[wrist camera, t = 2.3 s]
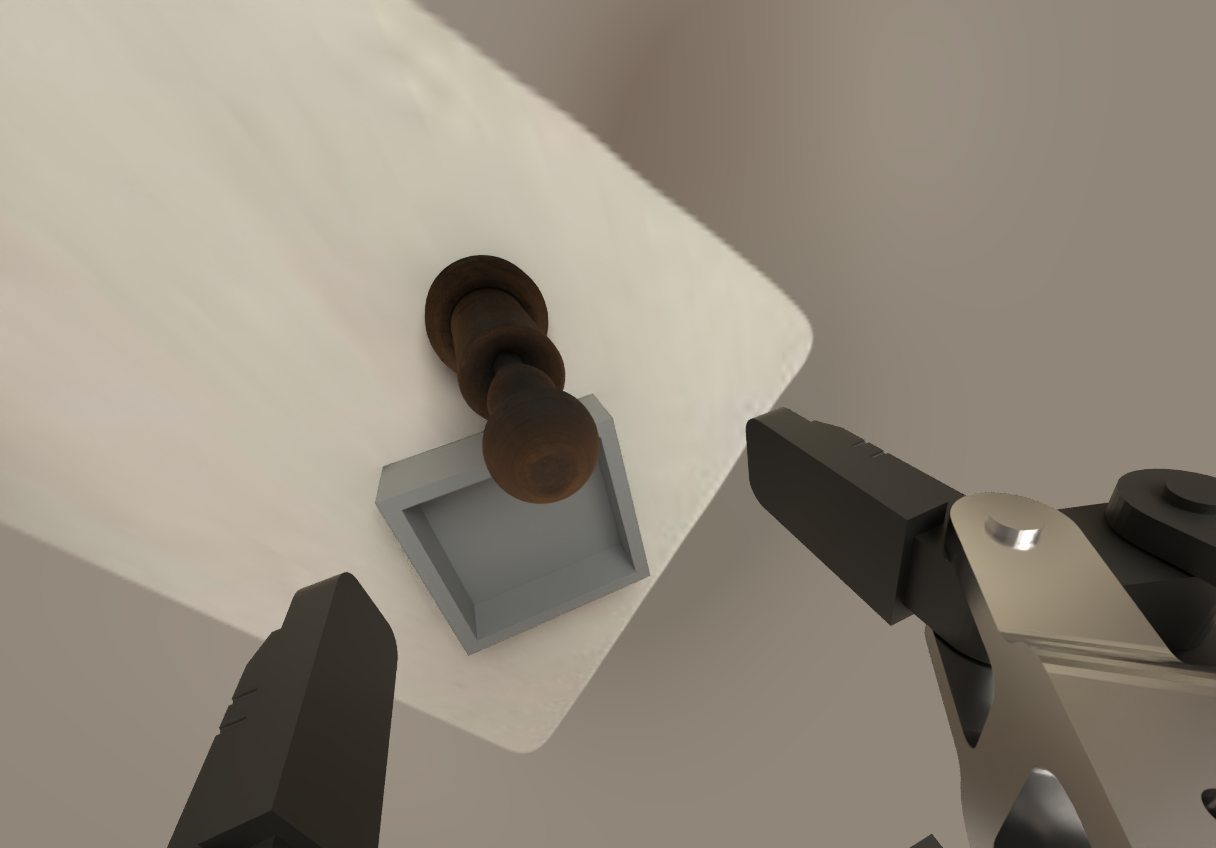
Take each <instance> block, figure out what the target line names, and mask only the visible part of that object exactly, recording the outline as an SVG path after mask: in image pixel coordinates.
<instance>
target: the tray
mask: <svg viewBox="0 0 1216 848" xmlns="http://www.w3.org/2000/svg"><path fill="white" fill-rule="evenodd" d="M578 400H579V401H580V402H581V403H582V404H583V405H584V406H585V407H586V408H587V410H588V411H589V412H590V414H591V415H592V417H593V419H594V421H595V424H596V427H597V430H598V435H599V443H600V444H599V445H600V447H599V456H598V461H597V464H596V467H595V469H594V471H593V473H592V475H591V477H590V478H589V480H588V481H587V482H586V483H585V484H584V486H583V487H582V488H581V489H579V490H578V491H577V492H576V493H574V494H573V495H571V496H570V497H568V498H566V499H563V500H561V501H557V502H554V503H548V504H534V503H528V502H524V501H521V500H519V499H516V498H514V497H512V496H511V495H509V494H508V493H506V492H505V491H504V490H503V489H501V488H500V487H499V486H498V484H497V483H496V482H495V481H494V479H493V478H492V477H491V475H490V473H489V471H488V469H487V467H486V464H485V461H484V457H483V451H482V440H483V434H484V432H482V433H479V434H476V435H473V436H470V437H467V438H464V439H461V440H459V441H456V442H453V443H450V444H447V445H444V446H441V447H438V448H436V449H433V450H430V451H427V452H424V453H421V454H418V455H415V456H413V457H410V458H407V459H404V460H401V461H398V462H395V463H392V464H389V465H387V466H384V467H383V469H382V474H381V478H380V483H379V487H378V492H377V496H376V501H375V504H376V506H377V507H378V509H379V511H380V512H381V514H382V515H383V517H384V519H385V520H386V522H387V524H388V525H389V527H390V529H391V530H392V532H393V533H394V535H395V537H396V538H397V540H398V542H399V543H400V545H401V546H402V548H403V550H404V551H405V553H406V555H407V556H408V558H409V559H410V561H411V563H412V564H413V566H414V568H415V569H416V571H417V573H418V574H419V576H420V577H421V579H422V581H423V582H424V584H425V586H426V587H427V589H428V590H429V592H430V594H431V595H432V597H433V599H434V600H435V602H436V604H437V605H438V607H439V608H440V610H441V612H442V613H443V615H444V617H445V618H446V620H447V621H448V623H449V625H450V626H451V628H452V630H453V631H454V633H455V634H456V636H457V638H458V639H459V641H460V643H461V644H462V646H463V648H464V649H465V651H466V652H467V654H468V656H469V655H471V654H473V653H475V652H478V651H480V650H482V649H485V648H487V647H489V646H491V645H494V644H496V643H498V642H500V641H503V640H505V639H507V638H510V637H512V636H514V635H516V634H519V633H521V632H523V631H525V630H528V629H530V628H532V627H535V626H537V625H539V624H541V623H544V622H546V621H548V620H550V619H553V618H555V617H557V616H560V615H562V614H564V613H566V612H569V611H571V610H573V609H575V608H578V607H580V606H582V605H585V604H587V603H589V602H591V601H594V600H596V599H598V598H600V597H603V596H605V595H607V594H610V593H612V592H614V591H616V590H619V589H621V588H623V587H625V586H628V585H630V584H632V583H635V582H637V581H639V580H641V579H644V578H646V577H648V576H650V572H649V568H648V564H647V560H646V555H645V551H644V547H643V543H642V539H641V534H640V530H639V526H638V522H637V518H636V514H635V509H634V505H633V501H632V497H631V493H630V488H629V484H628V480H627V476H626V472H625V467H624V463H623V459H622V455H621V451H620V446H619V442H618V438H617V434H616V430H615V425H614V421H613V417H612V416H611V415H610V414H609V413H608V411H607V410H606V409H605V408H604V406H603V405H602V404H601V403H600V402H599V400H598V399H597V398H596V397H595V396H594V394H591V395H588V396H585V397H582V398H580V399H578Z"/></svg>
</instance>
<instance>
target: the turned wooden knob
mask: <svg viewBox="0 0 1216 848" xmlns="http://www.w3.org/2000/svg"><path fill="white" fill-rule="evenodd" d="M425 324H426V331H427V335H428V338H429V341H430V343H431V345H432V347H433V349H434V351H435V352H436V354H437V355H438V356H439V358H440V359H441V360H442V361H443V362H444V363H445V364H446V365H447V366H448V367H449V368H451V369H452V370H454V371H455V372H457V373H458V382H459V387H460V390H461V393H462V395H463V397H464V399H465V401H466V402H467V404H468V405H469V406H470V408H471V409H472V410H473V411H475V412H476V413H477V414H478V415H480V416H481V417H483V418H485V419H487V420H488V422H487V424H486V427H485V430H484V434H483V440H482V451H483V457H484V461H485V464H486V467H487V469H488V471H489V473H490V475H491V477H492V478H493V479H494V481H495V482H496V483H497V484H498V486H499V487H500V488H501V489H503V490H504V491H505V492H506V493H508V494H509V495H511V496H512V497H514V498H516V499H519V500H521V501H524V502H528V503H534V504H548V503H554V502H557V501H561V500H563V499H566V498H568V497H570V496H571V495H573V494H574V493H576V492H577V491H578V490H579V489H581V488H582V487H583V486H584V484H585V483H586V482H587V481H588V480H589V478H590V477H591V475H592V473H593V471H594V469H595V467H596V464H597V461H598V456H599V447H600V445H599V444H600V443H599V435H598V430H597V427H596V424H595V421H594V419H593V417H592V415H591V414H590V412H589V411H588V410H587V408H586V407H585V406H584V405H583V404H582V403H581V402H580V401H579V400H578V399H576V398H575V397H574V396H572V395H570V394H568V393H566V392H564V391H563V388H564V384H565V368H564V363H563V360H562V357H561V355H560V353H559V351H558V350H557V348H556V347H555V345H554V344H553V343H552V341H551V340H550V339H549V338H548V337H547V331H548V312H547V307H546V304H545V301H544V298H543V296H542V294H541V292H540V290H539V288H538V287H537V286H536V284H535V283H534V282H533V280H532V279H531V278H530V277H529V276H528V275H527V274H526V273H524V272H523V271H522V270H521V269H520V268H518V267H517V266H516V265H514V264H512V263H511V262H509V261H507V260H504V259H502V258H499V257H495V256H488V255H476V256H470V257H466V258H462V259H460V260H458V261H456V262H454V263H452V264H450V265H449V266H447V267H446V268H445V269H444V270H443V271H442V272H441V273H440V274H439V275H438V276H437V277H436V279H435V280H434V282H433V283H432V285H431V287H430V290H429V292H428V295H427V299H426V306H425Z"/></svg>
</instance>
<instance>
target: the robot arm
mask: <svg viewBox="0 0 1216 848" xmlns="http://www.w3.org/2000/svg"><path fill="white" fill-rule="evenodd" d="M746 441H747V455H748V468H749V481H750V485H751V488H752V490H753V493H754V494H755V496H756V498H757V500H758V501H759V502H760V504H761V505H762V506H763V507H764V508H765V509H766V510H767V511H768V512H769V513H770V514H771V515H772V516H774V517H775V518H776V519H777V520H778V521H779V522H780V523H781V524H782V525H783V526H784V527H785V528H786V529H788V530H789V531H790V532H791V533H792V534H793V535H794V536H795V537H796V538H797V539H798V540H799V541H800V542H801V543H803V544H804V545H805V546H806V547H807V548H808V549H809V550H810V551H811V552H812V553H813V554H814V555H815V556H816V557H818V558H819V559H820V560H821V561H822V562H823V563H824V564H825V565H826V566H827V567H828V568H829V569H830V570H832V571H833V572H834V573H835V574H836V575H837V576H838V577H839V578H840V579H841V580H842V581H843V582H845V584H846V585H848V586H849V587H850V588H851V589H852V590H853V591H854V592H855V593H856V594H857V595H858V596H859V597H860V598H862V599H863V600H864V601H865V602H866V603H867V604H868V605H869V606H870V607H871V608H872V609H873V610H874V611H875V612H877V613H878V614H879V615H880V616H881V617H882V618H883V619H884V620H885V621H886V622H887V623H888V624H889V625H893V624H895V623H897V622H899V621H901V620H903V619H905V618H907V617H909V616H911V615H913V614H915V615H916V616H917V617H918V618H920V619H921V620H922V621H923V622H924V623H925V624H926V626H925V638H926V642H927V646H928V649H929V654H930V657H931V660H932V664H933V668H934V671H935V675H936V679H937V682H938V686H939V689H940V693H941V696H942V700H943V704H944V707H945V711H946V714H947V718H948V722H949V725H950V729H951V732H952V736H953V739H954V743H955V747H956V750H957V755H958V759H959V765H960V776H961V803H962V811H963V817H964V823H965V828H966V832H967V837H968V841H969V844H970V848H1216V478H1215V477H1212V476H1208V475H1203V474H1199V473H1194V472H1188V471H1181V470H1172V469H1171V470H1170V469H1144V470H1137V471H1133V472H1130V473H1127V474H1125V475H1124V476H1122V477H1121V478H1120V479H1119V480H1118V483H1117V485H1116V487H1115V489H1114V492H1113V494H1112V496H1111V498H1110V501H1109V503H1103V504H1095V505H1088V506H1080V507H1073V508H1065V509H1058V510H1056V509H1054V508H1053V507H1050V506H1049V505H1046V504H1044V503H1042V502H1039V501H1036V500H1033V499H1030V498H1027V497H1023V496H1019V495H1014V494H1009V493H999V492H982V493H975V494H970V495H967V496H966V495H964V494H962V493H960V492H958V491H956V490H955V489H953V488H951V487H949V486H947V485H945V484H944V483H942V482H940V481H938V480H936V479H935V478H933V477H931V476H929V475H927V474H925V473H924V472H922V471H920V470H918V469H916V468H915V467H912V466H911V465H909V464H907V463H905V462H903V461H902V460H900V459H898V458H896V457H894V456H893V455H891V454H889V453H887V454H885V453H884V452H883V450H881V449H880V448H878V447H876V446H874V445H873V444H871V443H865V441H864V440H863V439H862V438H860V437H858V436H856V435H854V434H853V433H851V432H849V431H847V430H845V429H843V428H841V427H837V426H834V425H830V424H826V423H822V422H818V421H812V422H810V421H808V420H806V419H805V418H803V417H802V416H800V415H798V414H797V413H795V412H793V411H791V410H790V409H787V408H784V407H783V408H779V409H776V410H773V411H771V412H768V413H765V414H763V415H760V416H758V417H755V418H752V419H750V420H749V421H748V422H747V424H746ZM397 660H398V653H397V645H396V640H395V637H394V634H393V631H392V629H391V627H390V625H389V624H388V622H387V621H386V619H385V618H384V617H383V615H382V614H381V612H380V611H379V610H378V608H377V607H376V605H375V604H374V603H373V601H372V600H371V598H370V597H369V596H368V594H367V593H366V591H365V590H364V589H363V587H362V586H361V584H360V583H359V582H358V580H357V579H356V578H355V577H354V576H353V575H352V574H351V573H348V572H344V573H342V574H339V575H336V576H334V577H331V578H329V579H326V580H323V581H321V582H318V583H315V584H313V585H310V586H308V587H305V588H302V589H300V590H298V591H297V592H296V594H295V595H294V597H293V599H292V602H291V605H290V607H289V610H288V612H287V615H286V617H285V620H284V623H283V625H282V628H281V629H279V630H276V631H274V632H272V633H271V634H270V635H269V637H268V638H267V639H266V641H265V642H264V643H263V644H262V646H261V647H260V648H259V650H258V651H257V652H256V653H255V655H254V656H253V658H252V659H251V660H250V661H249V663H248V664H247V665H246V668H245V670H244V672H243V674H242V677H241V679H240V681H239V684H238V686H237V688H236V690H235V693H234V695H233V697H232V700H233V704H232V705H230V706H228V709H227V711H226V713H225V716H224V718H223V720H222V723H221V725H220V727H219V728H220V734H219V735H217V736H216V737H215V739H214V741H213V743H212V746H211V748H210V750H209V753H208V755H207V757H206V759H205V762H204V764H203V766H202V769H201V771H200V773H199V775H198V778H197V780H196V782H195V785H194V787H193V789H192V792H191V794H190V796H189V798H188V801H187V803H186V805H185V808H184V810H183V812H182V815H181V817H180V819H179V821H178V824H177V826H176V828H175V831H174V833H173V835H172V838H171V840H170V842H169V845H168V847H167V848H378V843H379V833H380V823H381V814H382V805H383V795H384V785H385V776H386V766H387V757H388V747H389V737H390V728H391V718H392V709H393V699H394V689H395V680H396V670H397ZM910 848H943V847H942V846H941V845H940V844H939V842H938V841H937V840H936V838H935V837H934V836H933V835H932V834H931V835H929V836H928V837H926V838H925V839H923V840H921V841H920V842H918V843H917V844H915V845H913V846H912V847H910Z"/></svg>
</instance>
